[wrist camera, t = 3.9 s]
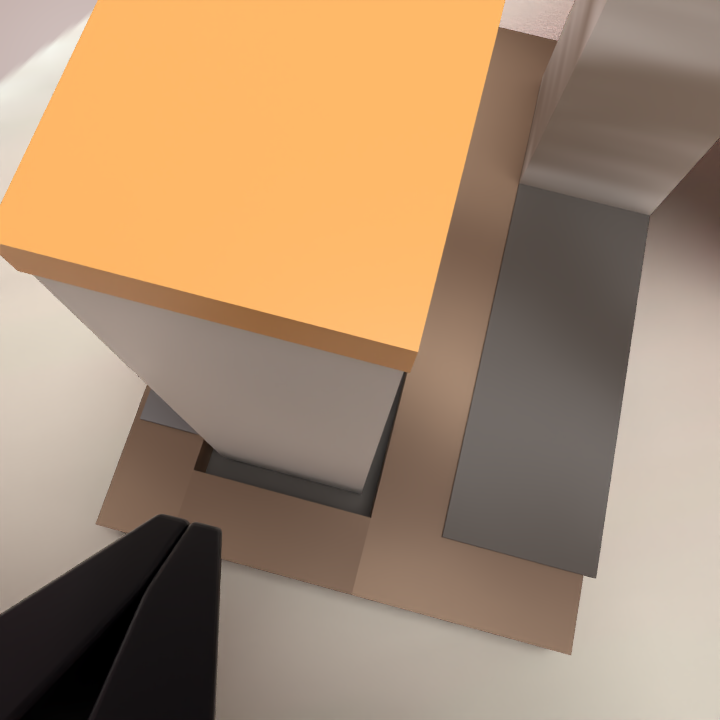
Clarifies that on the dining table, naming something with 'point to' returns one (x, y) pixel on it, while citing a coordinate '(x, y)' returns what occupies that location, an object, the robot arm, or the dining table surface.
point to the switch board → (490, 348)
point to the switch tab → (257, 207)
